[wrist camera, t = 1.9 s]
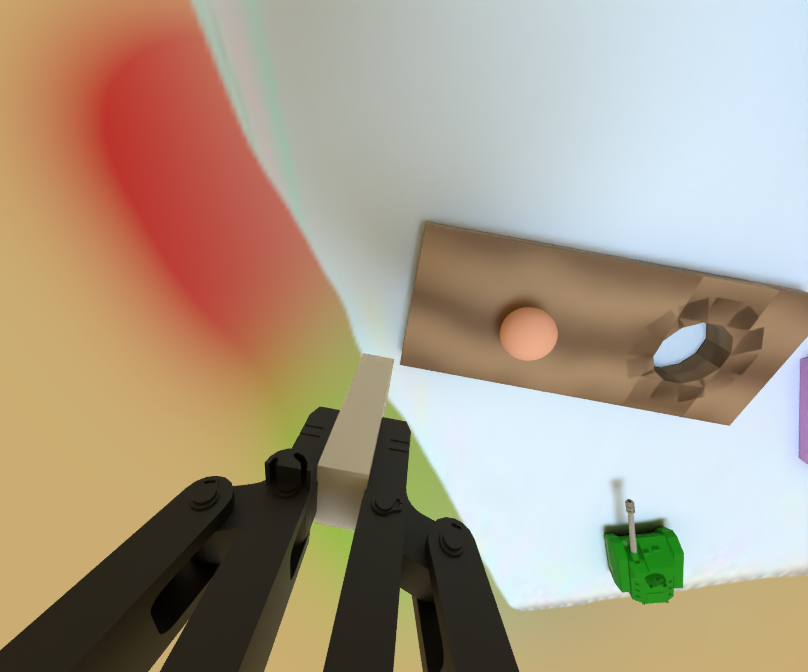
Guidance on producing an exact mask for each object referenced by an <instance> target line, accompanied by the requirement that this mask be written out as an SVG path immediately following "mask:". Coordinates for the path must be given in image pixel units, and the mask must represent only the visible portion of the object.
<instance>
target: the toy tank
mask: <svg viewBox="0 0 808 672" xmlns="http://www.w3.org/2000/svg"><path fill="white" fill-rule="evenodd" d="M625 503H626V511H627V512H628V521H629V535H626V536H619V537H618V536H616V535H615V534H613V533H608V534H604V540H605V546H606V553H607V560H608V566H609V569H610V572H611V574H612V577H613V579H614V582H615V583H616V585H617V586H618V588H619V589H620V590H621V591H622V592H629V593H630V595H631V597H632V599H634V600H636V601H639V602H642V604H644V605H645V604H648V603H661V602H666V603H668V600H669V599H671V598H672V597H673V593H674V588H683V564H684V553H683V550H682V548H681V545H680V543H679V541H678V538H677V536H676V535H675V533H674V532H673V530H670V529H668V528H665V527H658V528H655V529H654V532H652V533H645V534H644V533H643V534H635V526H634V516H633V514H634V513H635V507H634V502H633V501H632V500H630V499H627V500H626V501H625Z"/></svg>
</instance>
